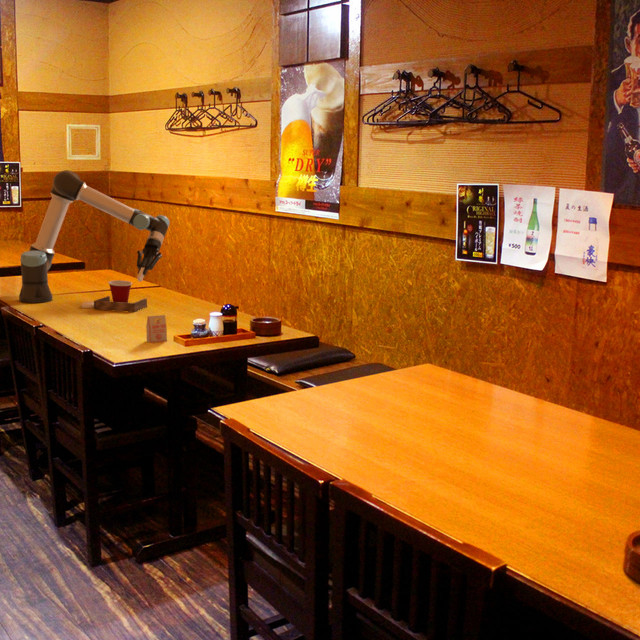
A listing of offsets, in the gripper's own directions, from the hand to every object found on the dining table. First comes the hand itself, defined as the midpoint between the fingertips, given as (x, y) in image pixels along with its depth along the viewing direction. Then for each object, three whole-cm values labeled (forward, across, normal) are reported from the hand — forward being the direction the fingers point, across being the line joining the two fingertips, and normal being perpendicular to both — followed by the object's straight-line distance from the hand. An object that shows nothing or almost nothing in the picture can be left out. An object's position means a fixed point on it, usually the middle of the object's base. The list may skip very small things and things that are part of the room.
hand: (139, 279), depth 368 cm
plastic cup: (+19, +1, +4) cm, 20 cm away
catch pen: (+21, 0, +6) cm, 22 cm away
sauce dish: (+22, +15, +6) cm, 28 cm away
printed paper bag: (+59, -43, +44) cm, 85 cm away
